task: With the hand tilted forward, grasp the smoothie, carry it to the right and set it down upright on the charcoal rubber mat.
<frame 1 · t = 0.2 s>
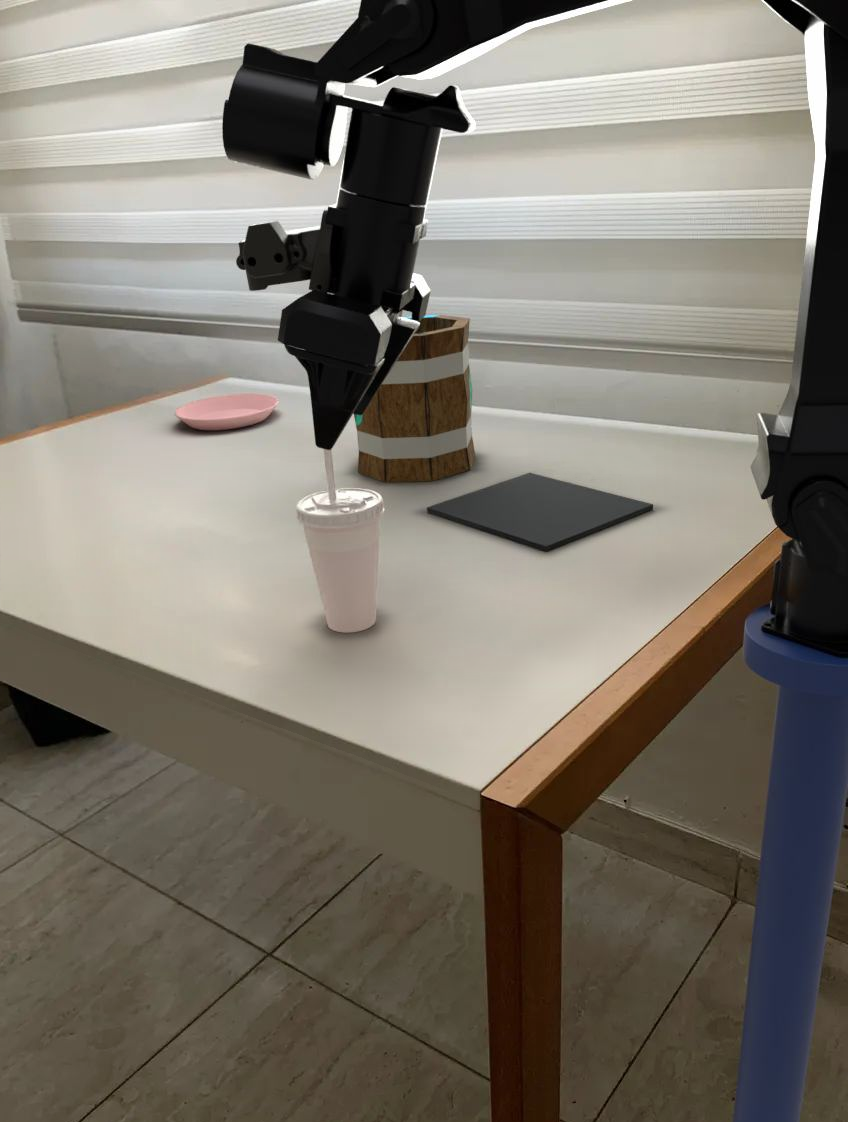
hand: (340, 429, 73), 15 cm above the table, tool tilted 15°, fingers open, 9 cm apart
mat: (537, 510, 97), on the table
smoothie: (351, 624, 78), on the table
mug: (411, 459, 117), on the table
plate: (229, 421, 141), on the table
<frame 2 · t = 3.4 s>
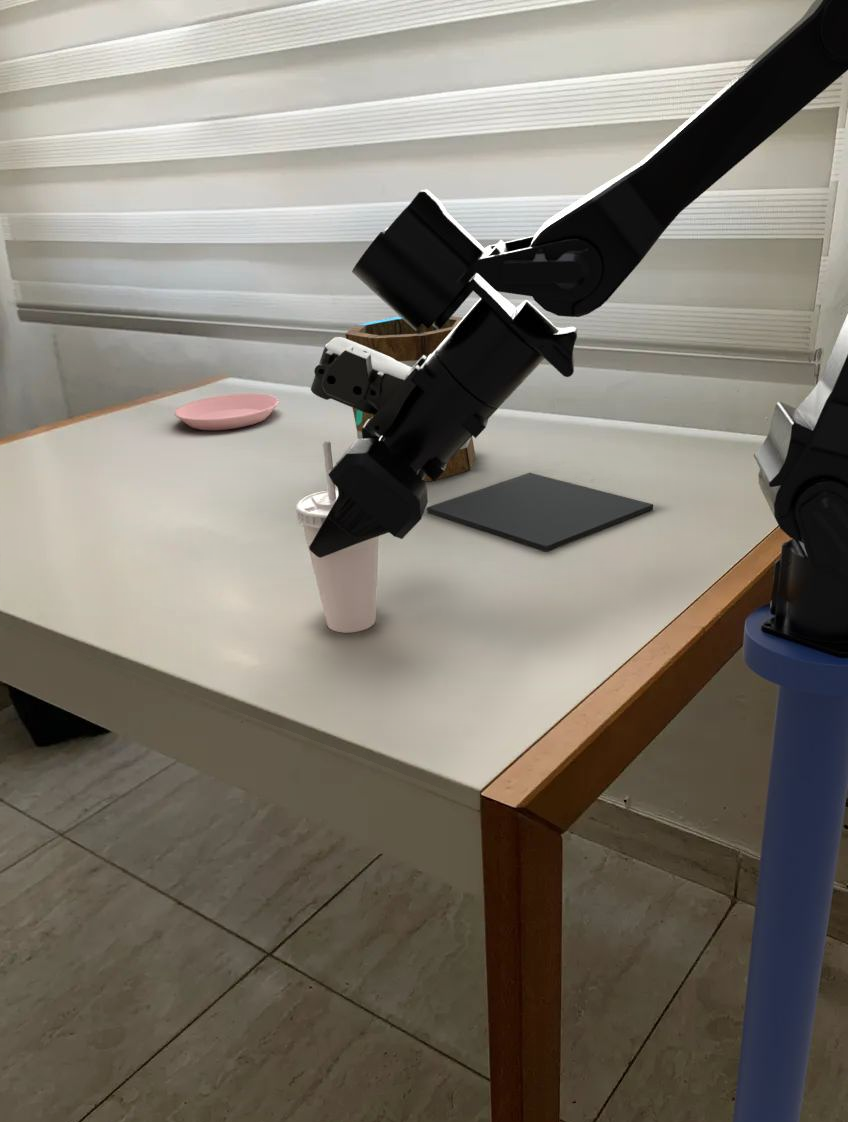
hand: (324, 536, 75), 7 cm above the table, tool tilted 45°, fingers closed on smoothie, 6 cm apart
smoothie: (351, 624, 78), on the table, touching gripper
everything else where it was.
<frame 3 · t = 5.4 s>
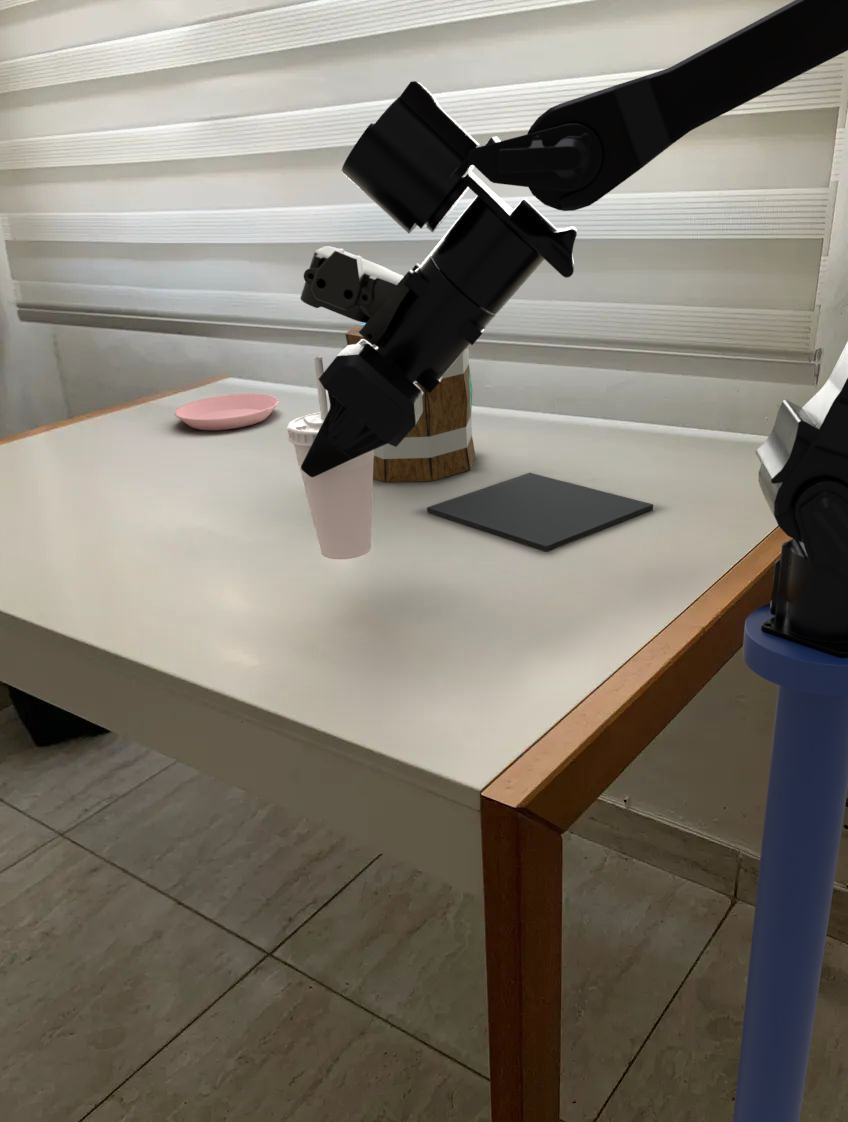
hand: (317, 458, 72), 13 cm above the table, tool tilted 45°, fingers closed on smoothie, 6 cm apart
smoothie: (346, 552, 75), point 6 cm above the table, touching gripper
everything else where it was.
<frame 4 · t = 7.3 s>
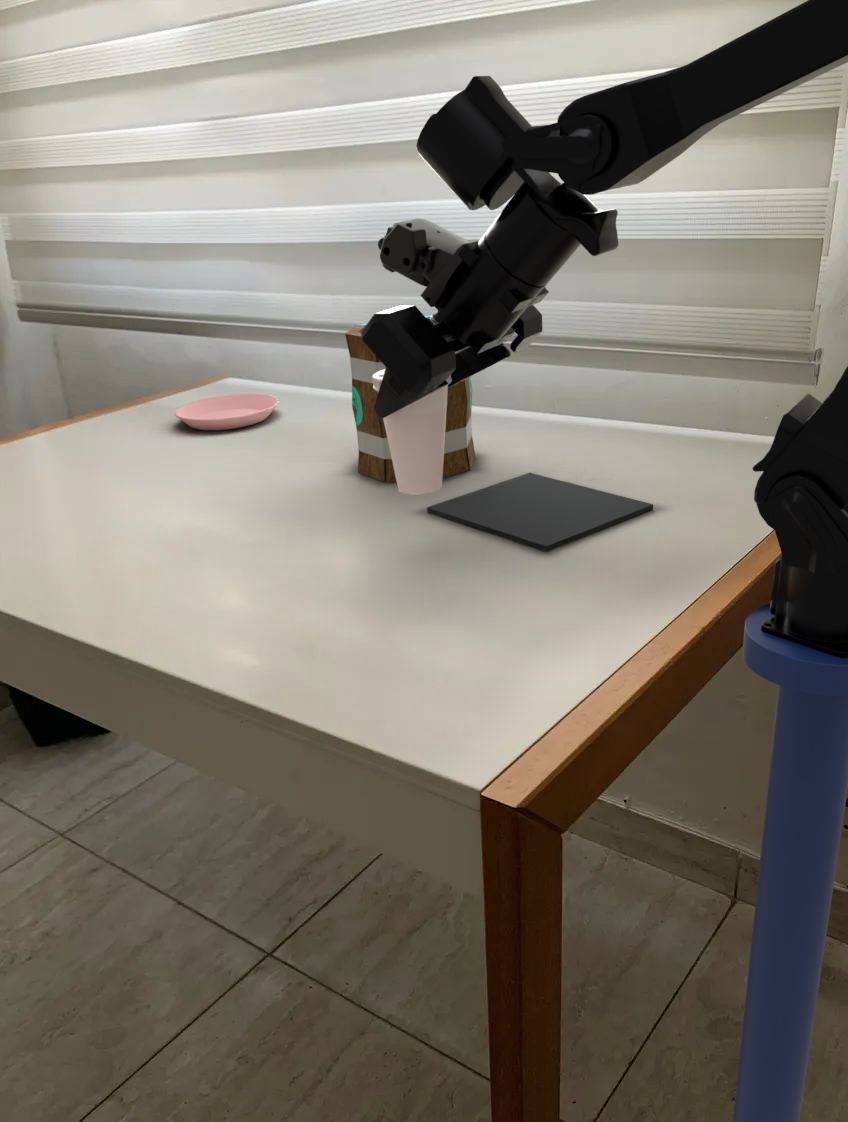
hand: (400, 404, 84), 13 cm above the table, tool tilted 45°, fingers closed on smoothie, 6 cm apart
smoothie: (420, 489, 86), point 6 cm above the table, touching gripper
everything else where it was.
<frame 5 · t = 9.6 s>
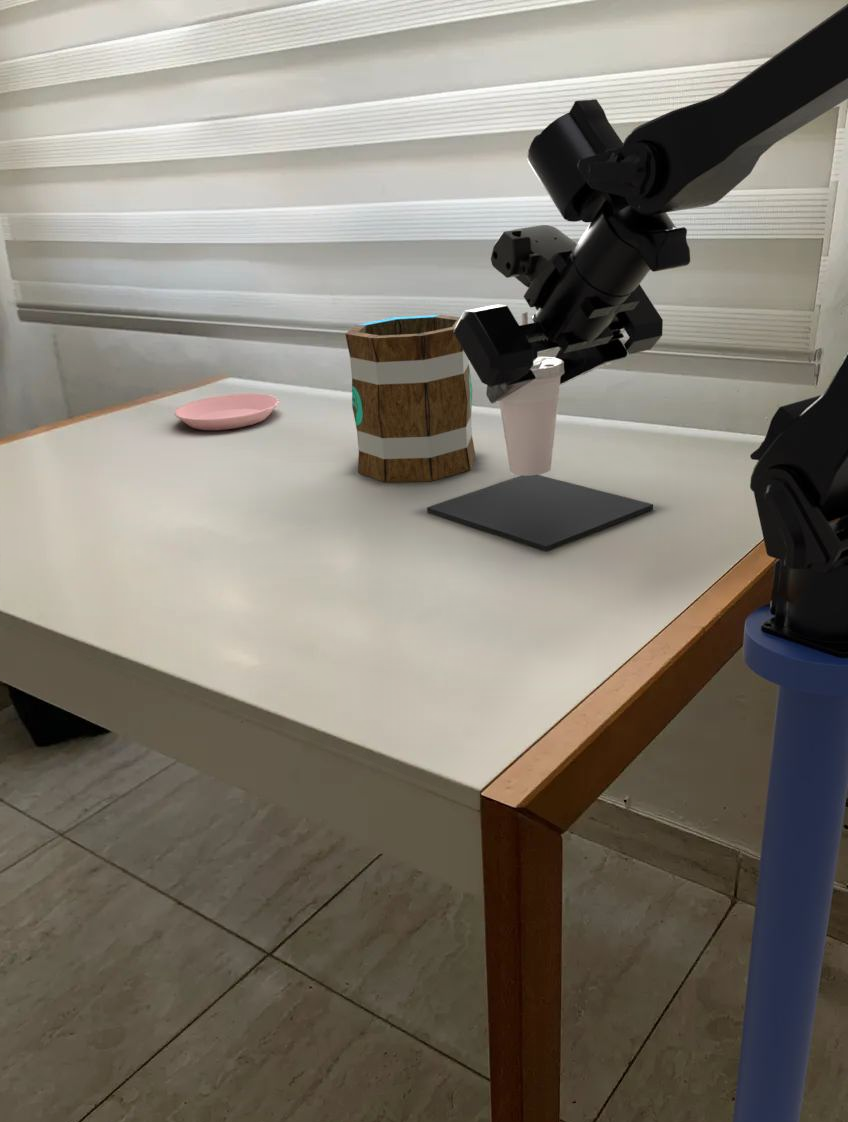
hand: (519, 392, 92), 11 cm above the table, tool tilted 45°, fingers closed on smoothie, 6 cm apart
smoothie: (530, 471, 94), point 4 cm above the table, touching gripper
everything else where it was.
when the fingers open (8 cm above the table, at t = 11.3 s): smoothie stays where it is, resting on mat.
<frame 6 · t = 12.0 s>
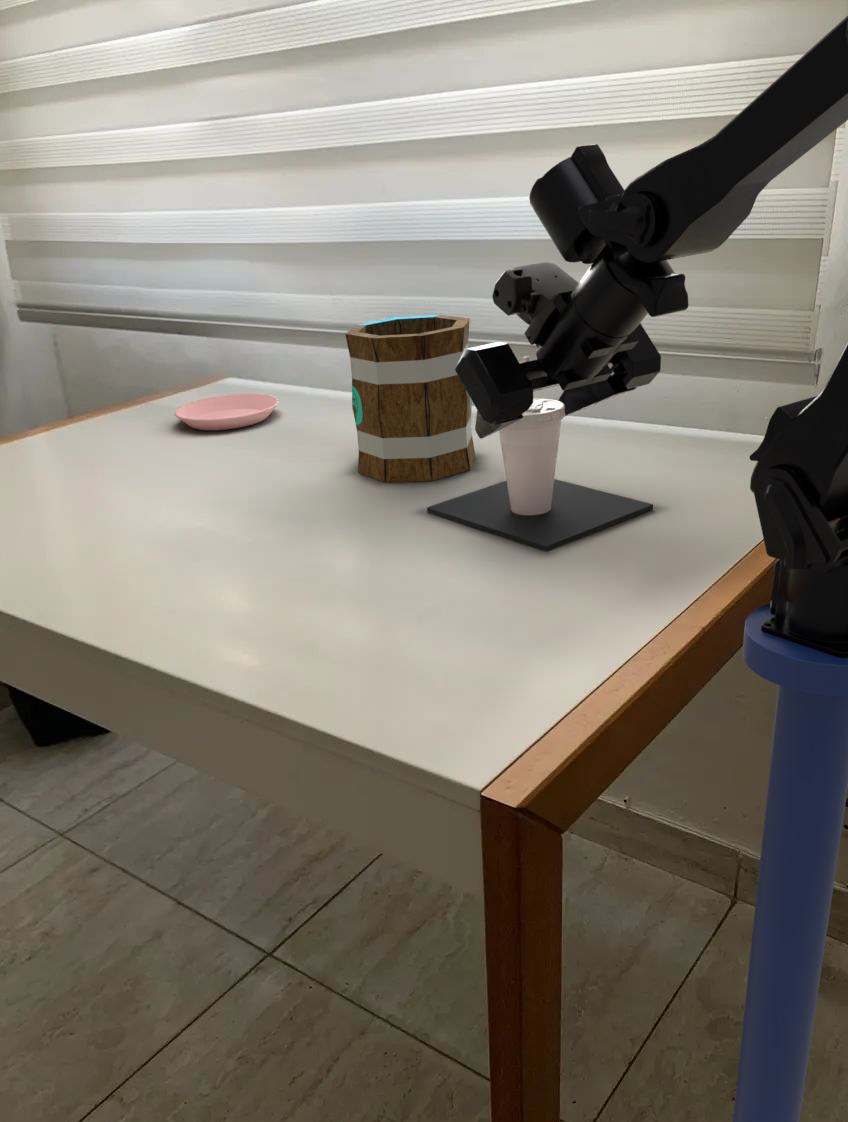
hand: (519, 423, 94), 8 cm above the table, tool tilted 45°, fingers open, 9 cm apart
smoothie: (530, 510, 96), resting on mat
everything else where it was.
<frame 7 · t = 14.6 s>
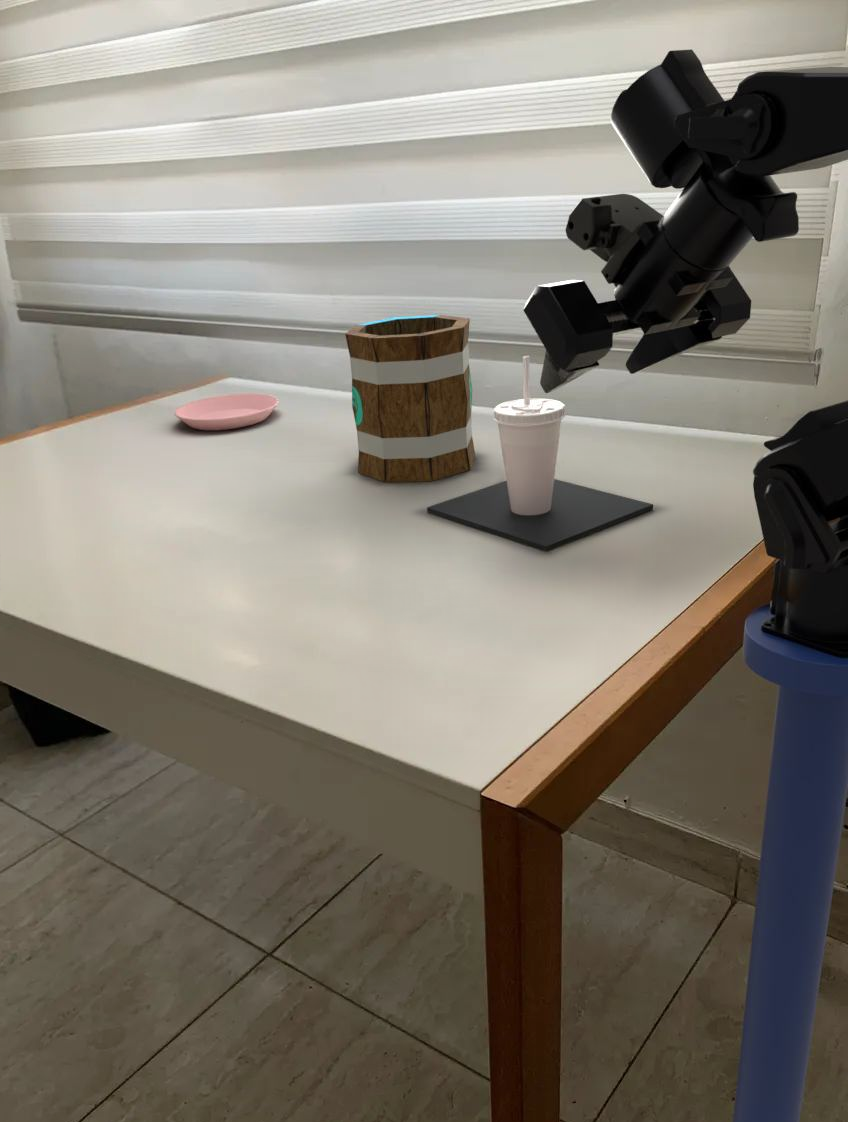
hand: (587, 378, 84), 14 cm above the table, tool tilted 45°, fingers open, 9 cm apart
nothing on the table moved.
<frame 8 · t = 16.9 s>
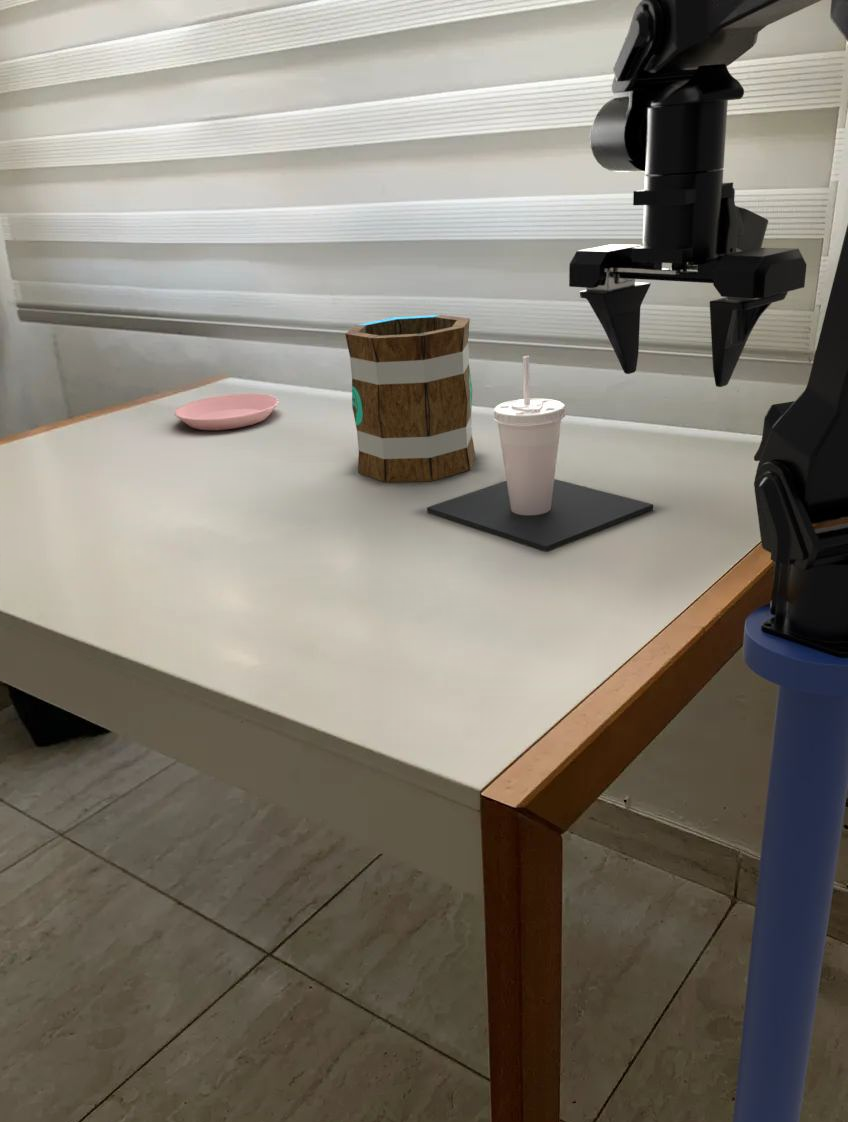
hand: (674, 379, 84), 13 cm above the table, tool pointing down, fingers open, 9 cm apart
nothing on the table moved.
at the end: smoothie inside the target area on the mat (1.0 cm from its centre), point 0.3 cm above the mat's base; smoothie tilted 0°; smoothie moved 26.9 cm from its start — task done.
